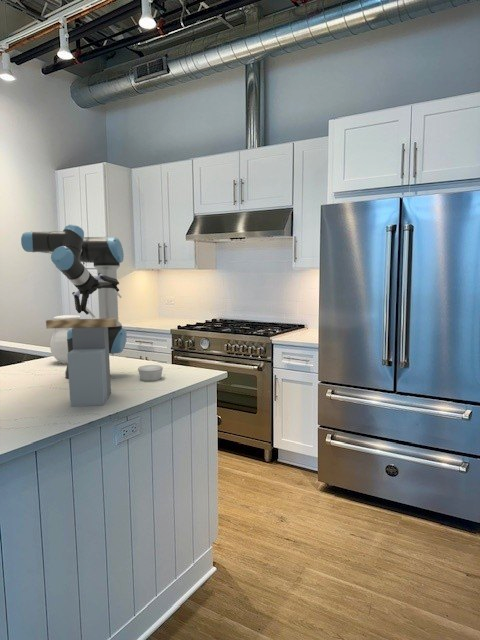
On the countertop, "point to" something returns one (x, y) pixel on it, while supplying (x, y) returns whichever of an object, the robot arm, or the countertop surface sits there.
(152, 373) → the ramekin
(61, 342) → the pitcher
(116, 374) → the countertop surface
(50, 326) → the oak bar
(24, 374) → the countertop surface
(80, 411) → the countertop surface
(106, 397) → the stand
